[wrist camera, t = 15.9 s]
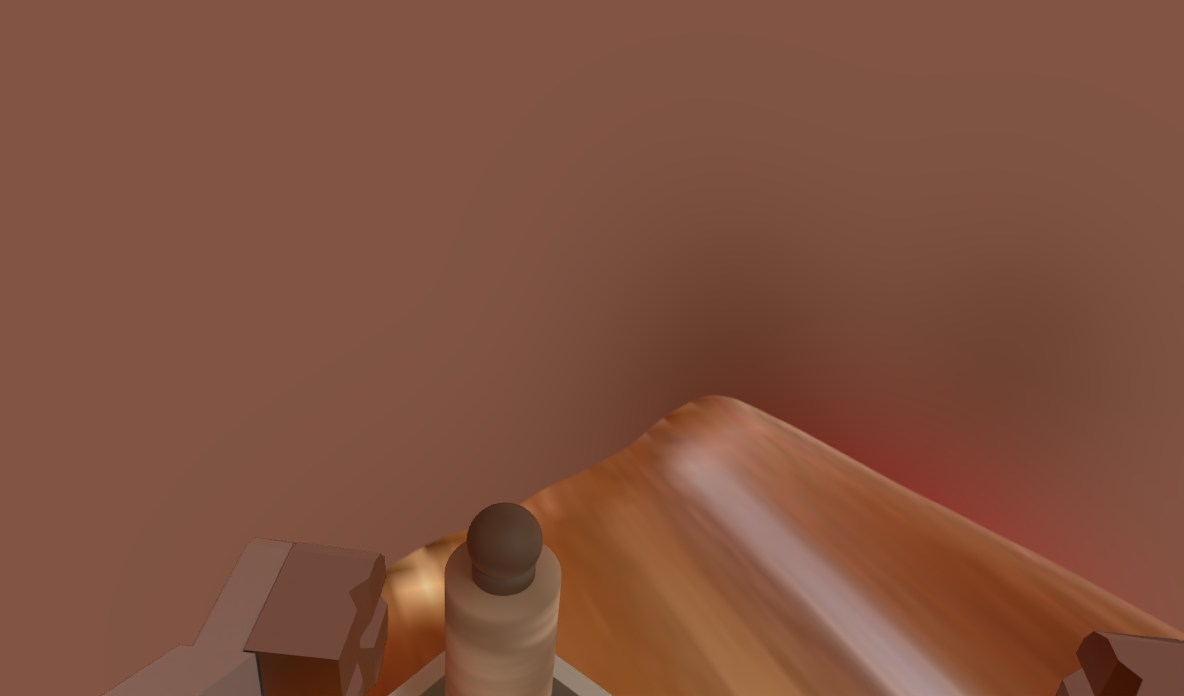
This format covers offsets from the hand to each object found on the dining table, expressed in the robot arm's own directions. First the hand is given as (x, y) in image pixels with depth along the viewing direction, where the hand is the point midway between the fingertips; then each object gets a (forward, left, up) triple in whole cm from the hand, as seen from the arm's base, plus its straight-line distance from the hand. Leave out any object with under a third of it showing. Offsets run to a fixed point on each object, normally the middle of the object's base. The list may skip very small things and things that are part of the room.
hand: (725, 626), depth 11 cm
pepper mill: (-12, -14, -31) cm, 37 cm away
